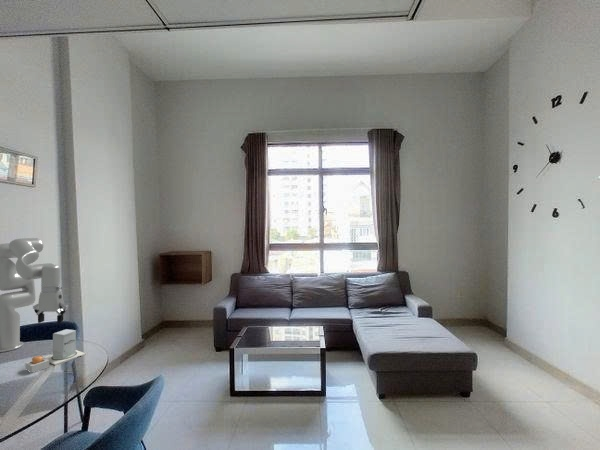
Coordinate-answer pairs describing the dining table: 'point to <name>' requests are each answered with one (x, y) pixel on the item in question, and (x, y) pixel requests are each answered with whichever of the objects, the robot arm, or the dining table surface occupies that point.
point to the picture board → (61, 360)
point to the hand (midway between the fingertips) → (50, 322)
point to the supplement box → (64, 343)
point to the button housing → (37, 365)
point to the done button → (37, 359)
